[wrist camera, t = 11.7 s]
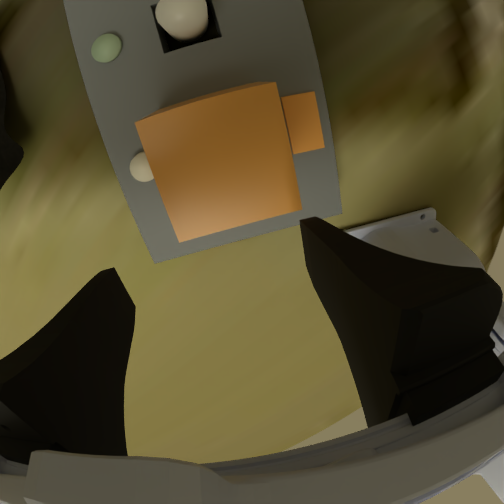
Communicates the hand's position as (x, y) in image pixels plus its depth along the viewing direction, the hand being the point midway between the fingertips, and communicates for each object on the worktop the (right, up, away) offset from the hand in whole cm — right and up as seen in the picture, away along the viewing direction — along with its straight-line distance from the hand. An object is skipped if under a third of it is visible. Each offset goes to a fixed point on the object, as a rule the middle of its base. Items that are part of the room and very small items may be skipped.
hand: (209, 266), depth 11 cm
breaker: (-2, +13, +1) cm, 13 cm away
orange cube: (0, +6, +4) cm, 7 cm away
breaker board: (-2, +12, +4) cm, 13 cm away
